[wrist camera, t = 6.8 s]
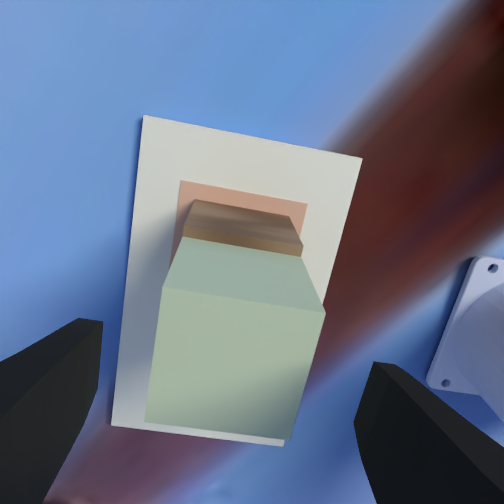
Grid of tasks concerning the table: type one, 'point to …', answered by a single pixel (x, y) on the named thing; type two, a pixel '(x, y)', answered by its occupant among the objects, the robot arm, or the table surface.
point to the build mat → (224, 192)
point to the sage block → (233, 340)
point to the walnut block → (242, 228)
